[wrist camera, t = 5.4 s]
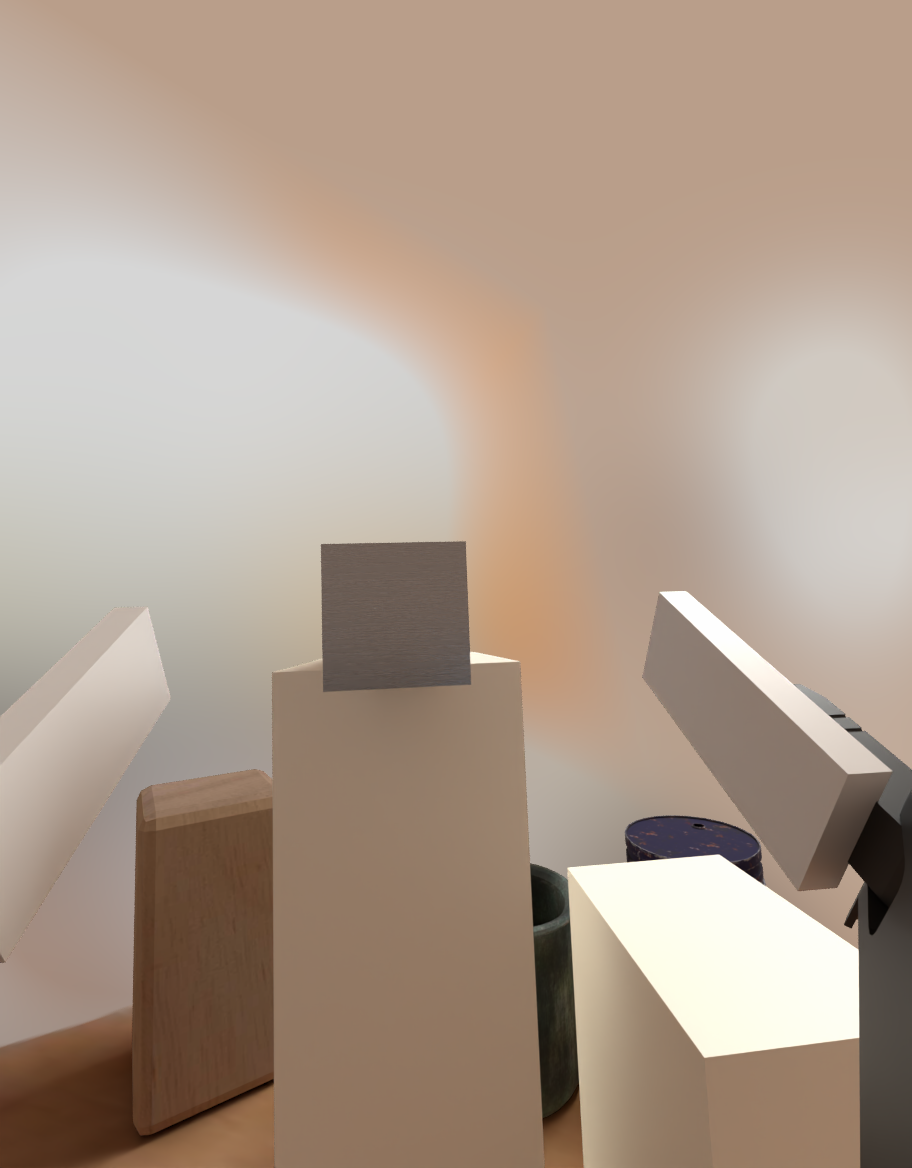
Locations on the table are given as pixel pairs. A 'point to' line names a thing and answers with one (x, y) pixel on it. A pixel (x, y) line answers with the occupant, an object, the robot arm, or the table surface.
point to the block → (202, 945)
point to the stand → (403, 925)
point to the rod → (394, 615)
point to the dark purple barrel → (693, 842)
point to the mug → (554, 988)
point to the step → (710, 1021)
